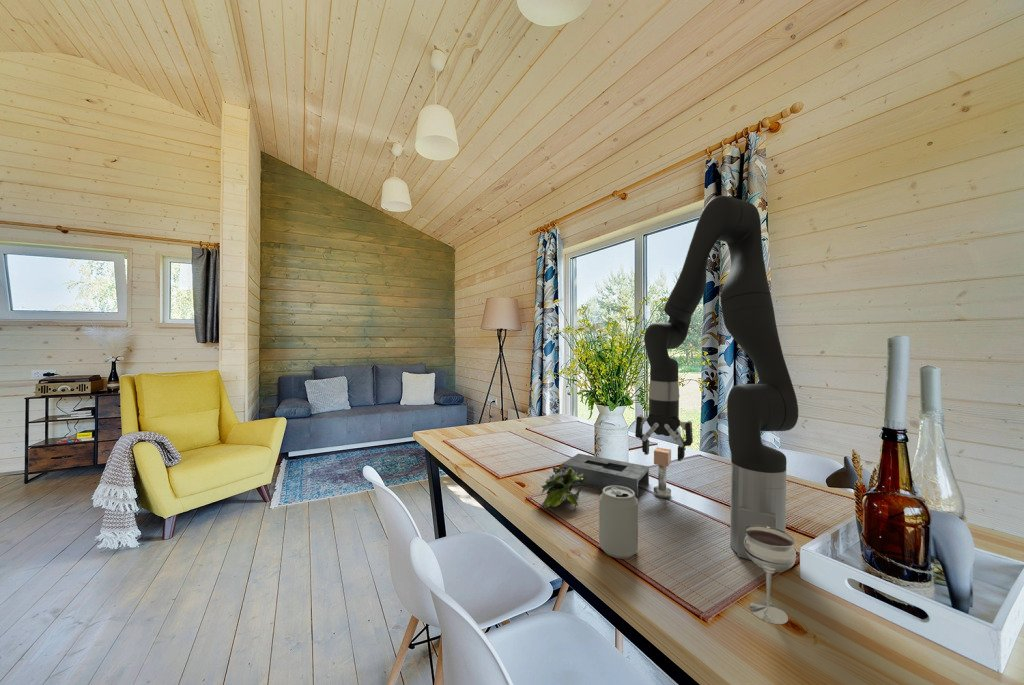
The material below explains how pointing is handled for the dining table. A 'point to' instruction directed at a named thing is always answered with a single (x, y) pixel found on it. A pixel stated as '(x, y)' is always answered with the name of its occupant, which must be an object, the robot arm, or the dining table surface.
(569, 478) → the leafy green plant
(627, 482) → the keyhole plate
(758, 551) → the wineglass
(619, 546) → the can
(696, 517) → the dining table surface
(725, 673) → the dining table surface
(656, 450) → the peg
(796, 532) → the dining table surface
